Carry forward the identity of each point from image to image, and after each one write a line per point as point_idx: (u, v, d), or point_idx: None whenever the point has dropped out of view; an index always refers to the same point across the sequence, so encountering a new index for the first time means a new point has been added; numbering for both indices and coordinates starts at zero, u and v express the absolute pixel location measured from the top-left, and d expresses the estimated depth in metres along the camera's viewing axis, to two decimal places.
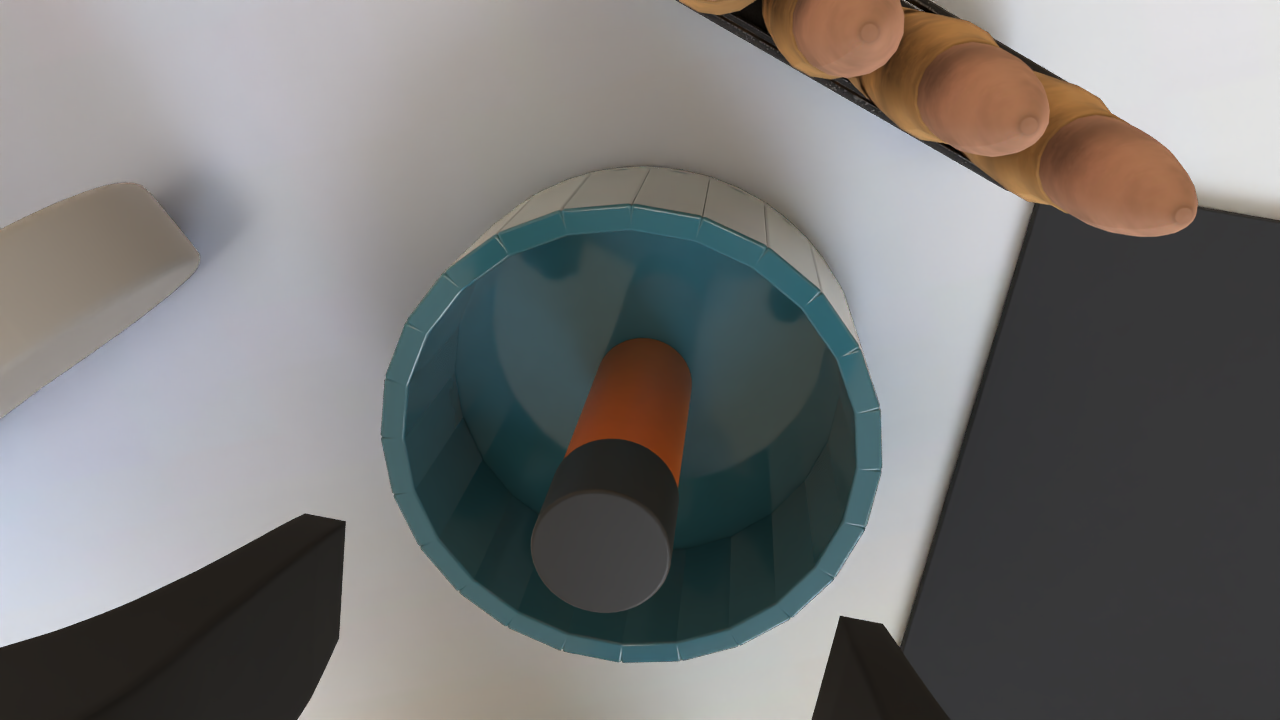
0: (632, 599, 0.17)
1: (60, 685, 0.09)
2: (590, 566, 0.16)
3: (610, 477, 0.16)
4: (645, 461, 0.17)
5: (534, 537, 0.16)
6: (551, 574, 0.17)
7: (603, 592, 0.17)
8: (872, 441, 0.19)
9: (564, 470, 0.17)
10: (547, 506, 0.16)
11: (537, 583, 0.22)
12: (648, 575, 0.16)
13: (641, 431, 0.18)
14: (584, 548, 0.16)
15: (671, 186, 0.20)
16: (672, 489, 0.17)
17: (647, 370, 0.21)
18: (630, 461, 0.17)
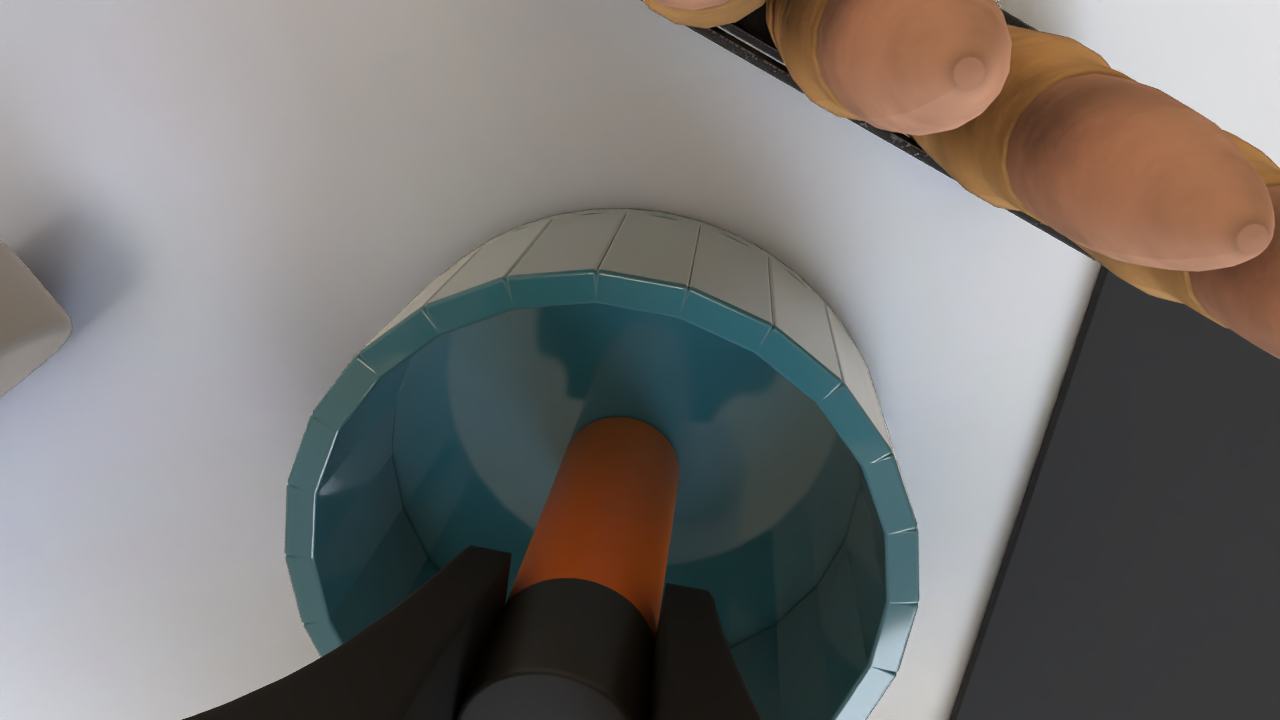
0: None
1: None
2: None
3: (561, 646, 0.12)
4: (611, 614, 0.13)
5: None
6: None
7: None
8: (907, 568, 0.15)
9: (503, 625, 0.13)
10: (475, 687, 0.12)
11: None
12: None
13: (608, 563, 0.14)
14: None
15: (651, 239, 0.16)
16: (647, 648, 0.13)
17: (622, 464, 0.17)
18: (591, 617, 0.13)
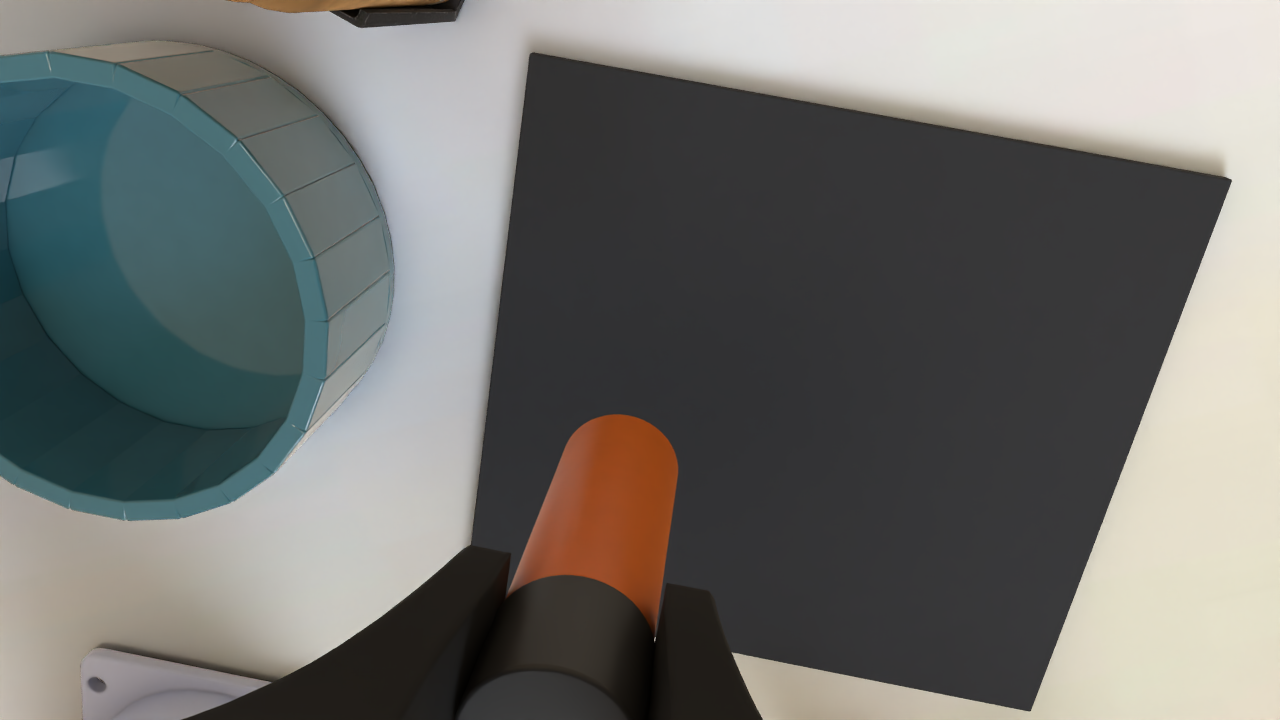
0: None
1: None
2: None
3: (560, 642, 0.12)
4: (610, 610, 0.13)
5: None
6: None
7: None
8: (313, 291, 0.20)
9: (502, 623, 0.13)
10: (474, 684, 0.12)
11: (65, 449, 0.23)
12: None
13: (606, 561, 0.14)
14: None
15: (142, 48, 0.21)
16: (646, 645, 0.13)
17: (620, 462, 0.17)
18: (589, 613, 0.13)
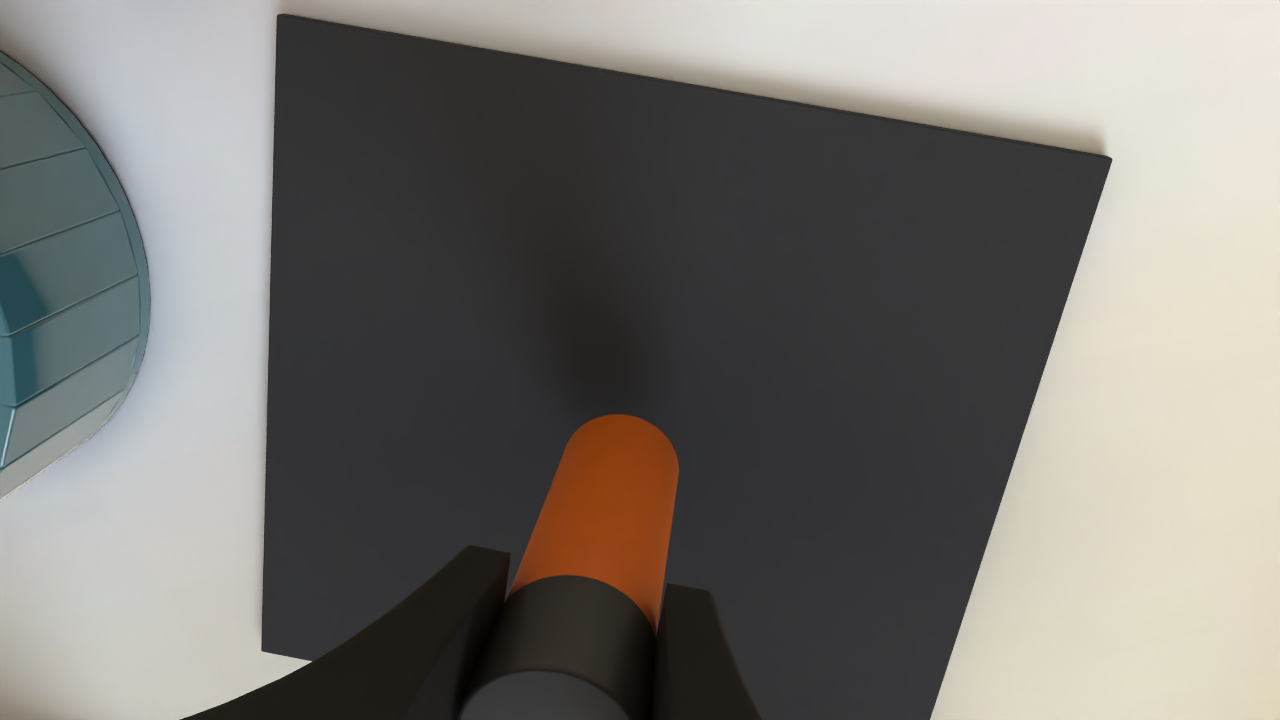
0: None
1: None
2: None
3: (562, 642, 0.12)
4: (612, 610, 0.13)
5: None
6: None
7: None
8: None
9: (504, 623, 0.13)
10: (476, 684, 0.12)
11: None
12: None
13: (608, 561, 0.14)
14: None
15: None
16: (647, 645, 0.13)
17: (622, 461, 0.17)
18: (590, 613, 0.13)
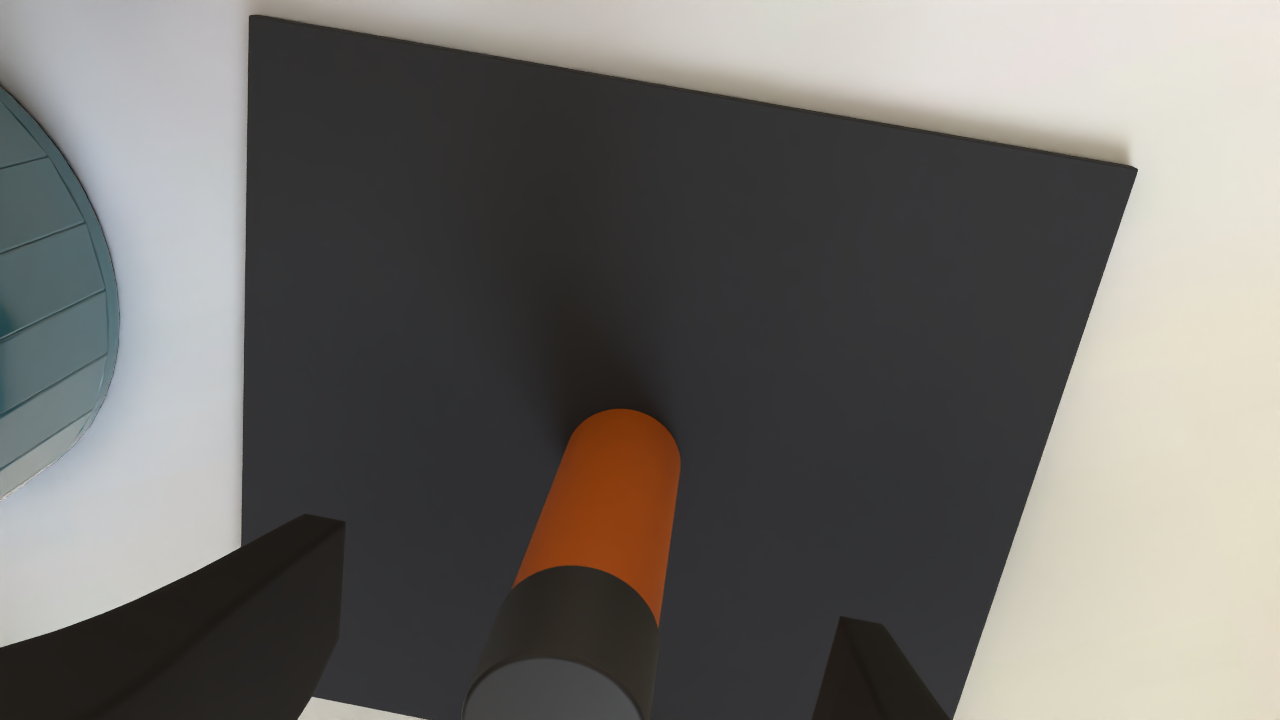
0: None
1: (59, 685, 0.09)
2: None
3: (566, 631, 0.12)
4: (615, 600, 0.13)
5: (465, 711, 0.12)
6: None
7: None
8: None
9: (509, 612, 0.13)
10: (482, 671, 0.12)
11: None
12: None
13: (611, 551, 0.14)
14: None
15: None
16: (650, 634, 0.13)
17: (624, 455, 0.17)
18: (594, 603, 0.13)
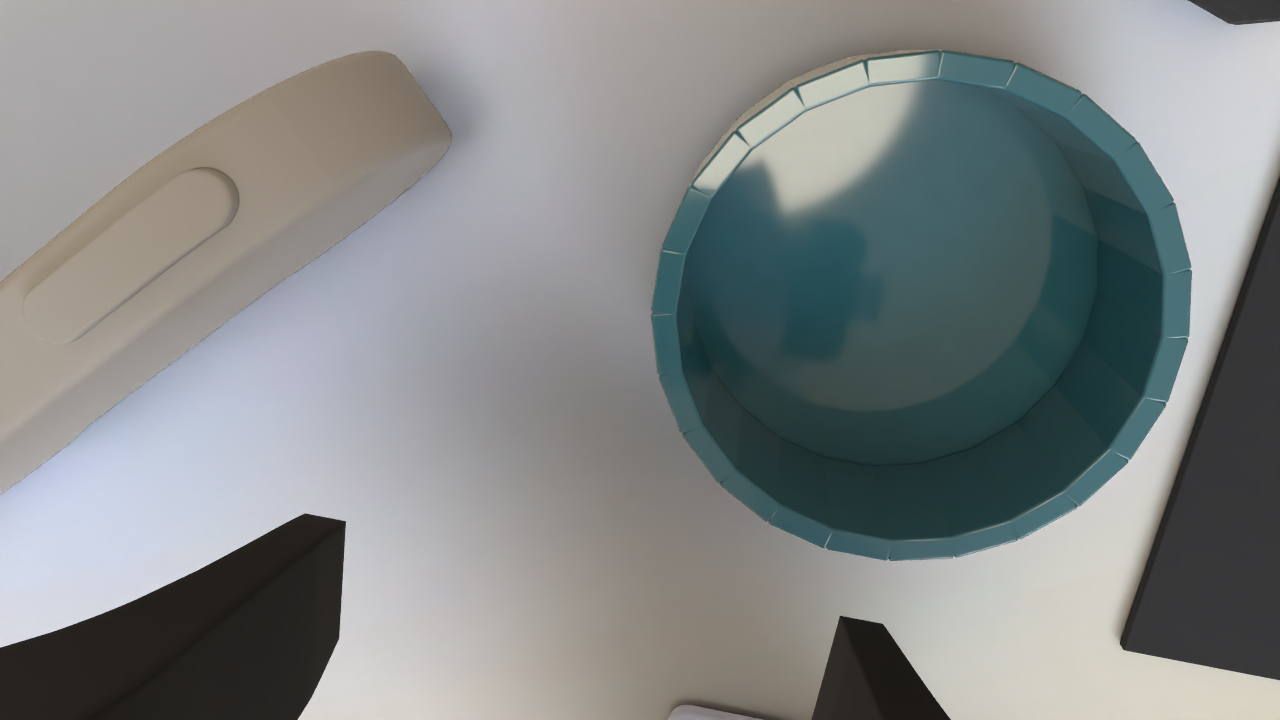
0: None
1: (60, 685, 0.09)
2: None
3: None
4: None
5: None
6: None
7: None
8: (1181, 305, 0.18)
9: None
10: None
11: (788, 484, 0.21)
12: None
13: None
14: None
15: None
16: None
17: None
18: None
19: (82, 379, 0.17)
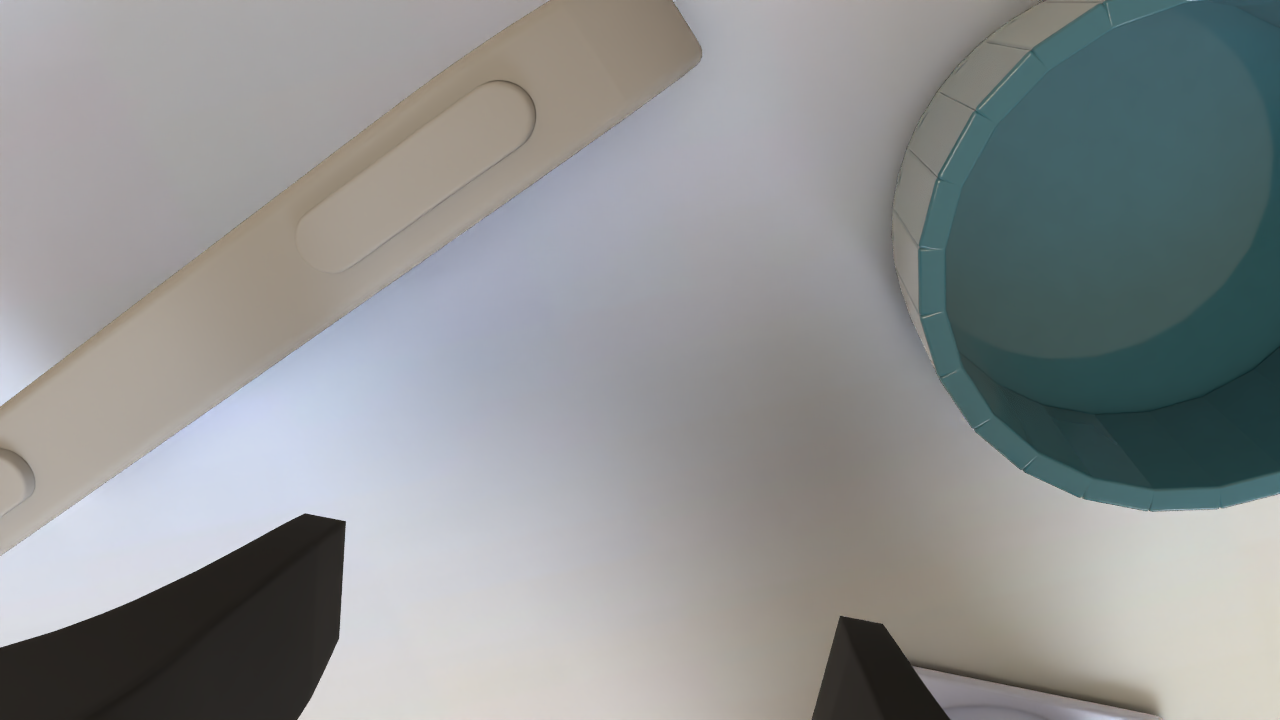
0: None
1: (60, 685, 0.09)
2: None
3: None
4: None
5: None
6: None
7: None
8: None
9: None
10: None
11: (1032, 431, 0.20)
12: None
13: None
14: None
15: None
16: None
17: None
18: None
19: (348, 312, 0.16)
